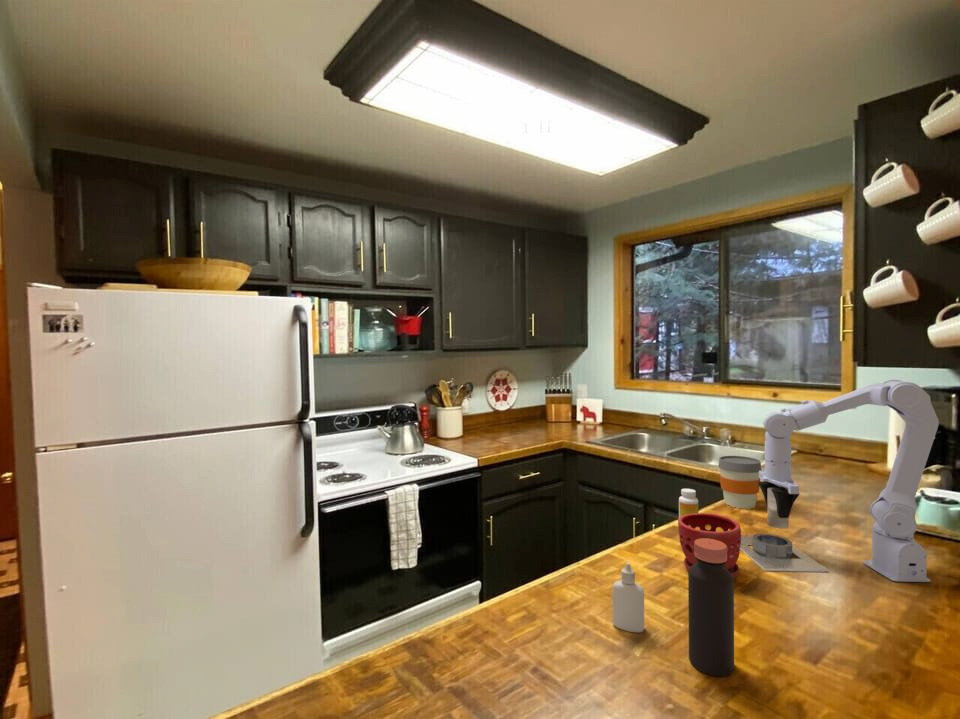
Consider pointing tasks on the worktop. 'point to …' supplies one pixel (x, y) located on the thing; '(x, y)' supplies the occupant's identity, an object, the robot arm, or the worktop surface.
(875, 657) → the worktop surface
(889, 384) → the robot arm
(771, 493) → the peg
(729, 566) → the plant pot
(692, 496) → the supplement bottle
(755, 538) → the collar stand
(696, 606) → the dark water bottle
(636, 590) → the eye dropper bottle
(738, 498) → the reusable coffee cup
